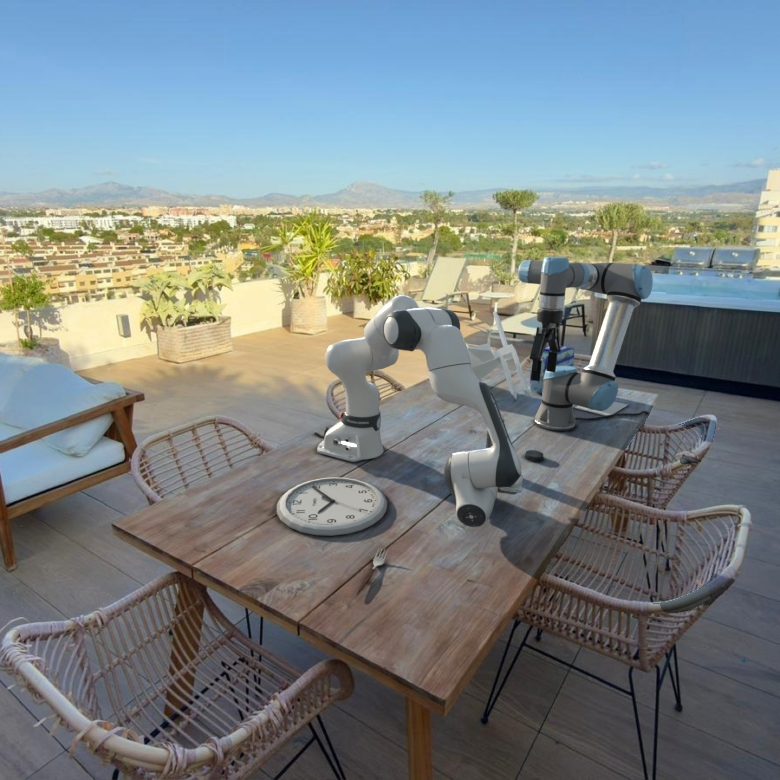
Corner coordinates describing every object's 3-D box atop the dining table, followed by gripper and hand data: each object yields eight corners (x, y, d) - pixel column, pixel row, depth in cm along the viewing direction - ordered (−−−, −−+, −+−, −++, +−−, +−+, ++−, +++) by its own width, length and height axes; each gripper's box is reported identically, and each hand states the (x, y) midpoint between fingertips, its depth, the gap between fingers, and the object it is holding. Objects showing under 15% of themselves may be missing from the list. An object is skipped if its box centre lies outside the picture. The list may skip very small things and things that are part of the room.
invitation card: (608, 416, 214) (573, 407, 224) (608, 416, 214) (573, 408, 224) (628, 404, 229) (594, 396, 238) (628, 405, 229) (594, 397, 238)
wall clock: (392, 527, 129) (268, 531, 127) (391, 533, 130) (269, 537, 127) (383, 473, 158) (282, 475, 155) (383, 478, 158) (282, 480, 156)
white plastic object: (461, 429, 252) (437, 405, 227) (444, 352, 274) (420, 323, 250) (535, 404, 240) (518, 377, 215) (510, 326, 262) (492, 293, 237)
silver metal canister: (503, 474, 163) (508, 420, 158) (488, 475, 162) (492, 421, 156) (496, 466, 168) (500, 414, 162) (481, 468, 166) (485, 416, 161)
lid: (525, 453, 178) (525, 449, 177) (542, 455, 176) (543, 451, 176) (524, 460, 173) (525, 455, 172) (542, 462, 171) (543, 458, 171)
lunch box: (546, 398, 236) (551, 353, 229) (525, 393, 243) (529, 349, 237) (573, 387, 253) (579, 344, 247) (553, 382, 260) (558, 341, 254)
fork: (350, 595, 108) (350, 587, 107) (378, 552, 122) (379, 545, 122) (362, 598, 107) (362, 590, 106) (389, 555, 121) (389, 547, 121)
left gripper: (522, 482, 136) (526, 461, 148) (445, 470, 142) (455, 451, 154) (520, 504, 138) (524, 481, 150) (444, 491, 144) (454, 470, 156)
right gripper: (552, 303, 172) (546, 366, 178) (522, 312, 152) (516, 382, 159) (575, 305, 167) (568, 369, 174) (547, 315, 148) (540, 386, 154)
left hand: (488, 466), depth 152 cm, fingers open, 8 cm apart
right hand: (543, 375), depth 166 cm, fingers open, 13 cm apart
